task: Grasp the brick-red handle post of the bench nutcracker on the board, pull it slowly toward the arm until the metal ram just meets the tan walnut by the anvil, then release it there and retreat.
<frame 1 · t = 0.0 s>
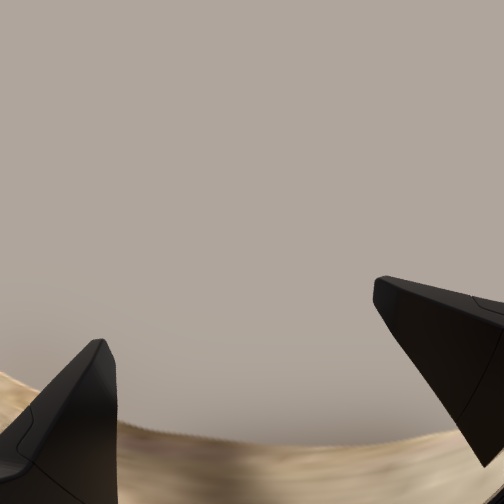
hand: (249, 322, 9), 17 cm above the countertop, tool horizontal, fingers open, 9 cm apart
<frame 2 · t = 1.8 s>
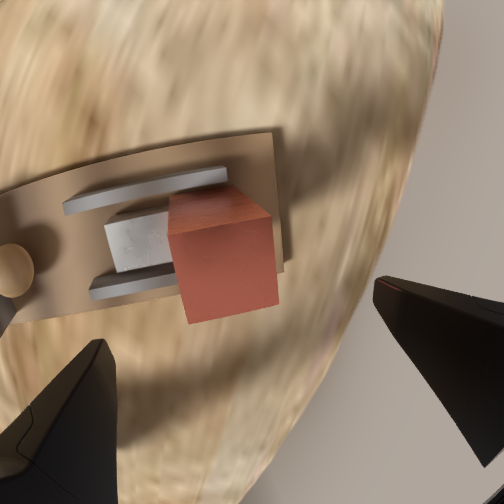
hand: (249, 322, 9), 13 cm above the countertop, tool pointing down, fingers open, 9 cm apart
nutcracker base: (106, 234, 19), on the countertop
ram: (176, 248, 15), point 5 cm above the countertop, slide at 0.0 cm
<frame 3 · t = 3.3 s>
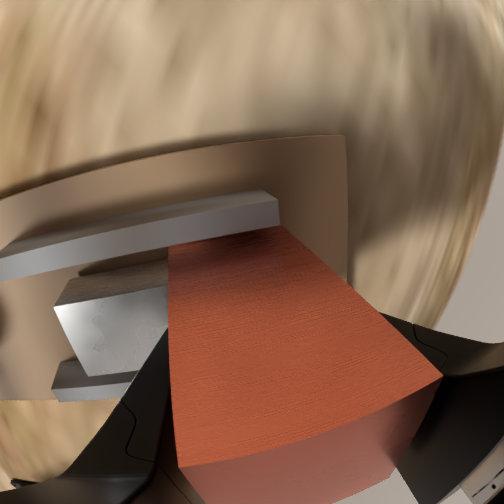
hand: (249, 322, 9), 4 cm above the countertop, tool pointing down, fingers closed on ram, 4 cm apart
nutcracker base: (71, 298, 11), on the countertop
ram: (187, 369, 7), point 5 cm above the countertop, slide at 0.0 cm, touching gripper
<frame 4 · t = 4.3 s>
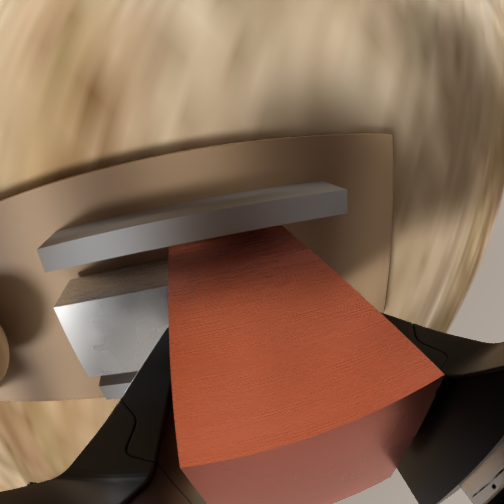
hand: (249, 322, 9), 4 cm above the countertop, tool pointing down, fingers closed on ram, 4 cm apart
nutcracker base: (120, 289, 12), on the countertop
ram: (188, 369, 7), point 5 cm above the countertop, slide at 2.4 cm, touching gripper
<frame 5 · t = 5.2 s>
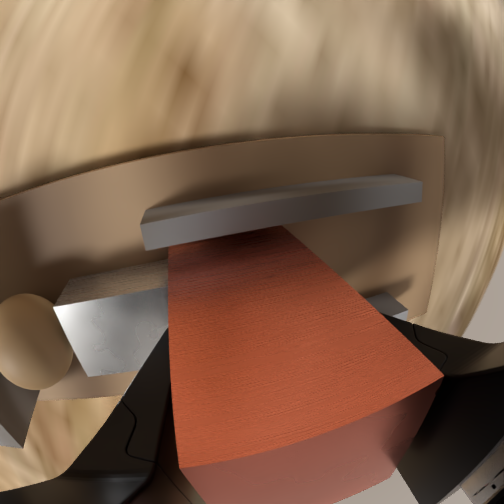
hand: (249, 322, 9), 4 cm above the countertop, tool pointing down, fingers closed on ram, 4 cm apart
nutcracker base: (200, 273, 12), on the countertop
ram: (187, 369, 7), point 6 cm above the countertop, slide at 5.9 cm, touching gripper
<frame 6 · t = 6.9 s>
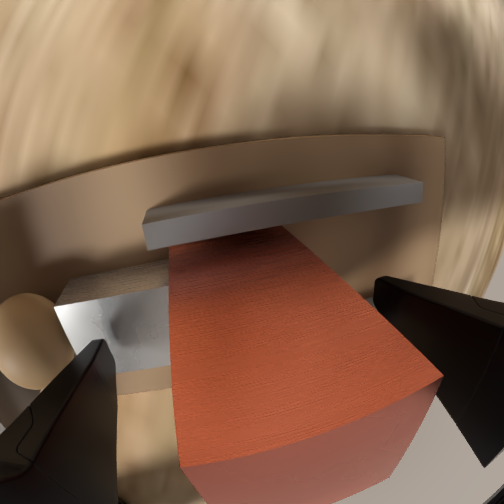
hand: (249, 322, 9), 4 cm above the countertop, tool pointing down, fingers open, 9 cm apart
nutcracker base: (202, 273, 12), on the countertop
ram: (188, 369, 7), point 5 cm above the countertop, slide at 6.0 cm
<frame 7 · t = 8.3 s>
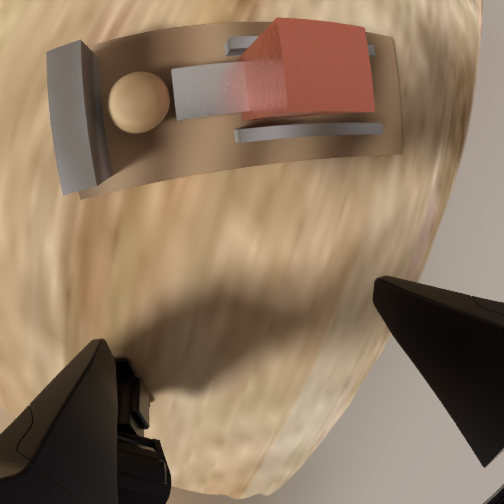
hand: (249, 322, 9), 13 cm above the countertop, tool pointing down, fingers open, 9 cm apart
nutcracker base: (248, 92, 18), on the countertop
ram: (255, 79, 13), point 5 cm above the countertop, slide at 6.0 cm
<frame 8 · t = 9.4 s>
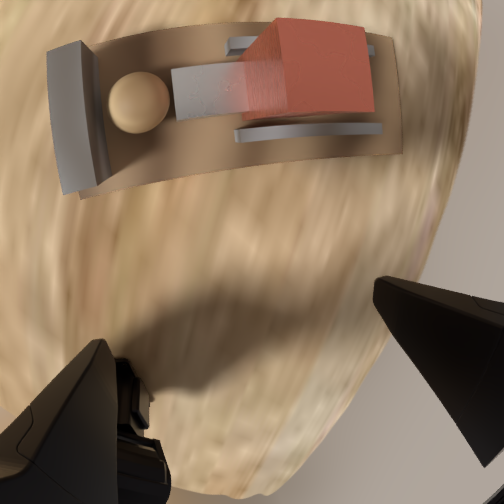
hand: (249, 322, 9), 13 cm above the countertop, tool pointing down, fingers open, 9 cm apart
nutcracker base: (248, 92, 18), on the countertop
ram: (255, 79, 13), point 6 cm above the countertop, slide at 6.0 cm
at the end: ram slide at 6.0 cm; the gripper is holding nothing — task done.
